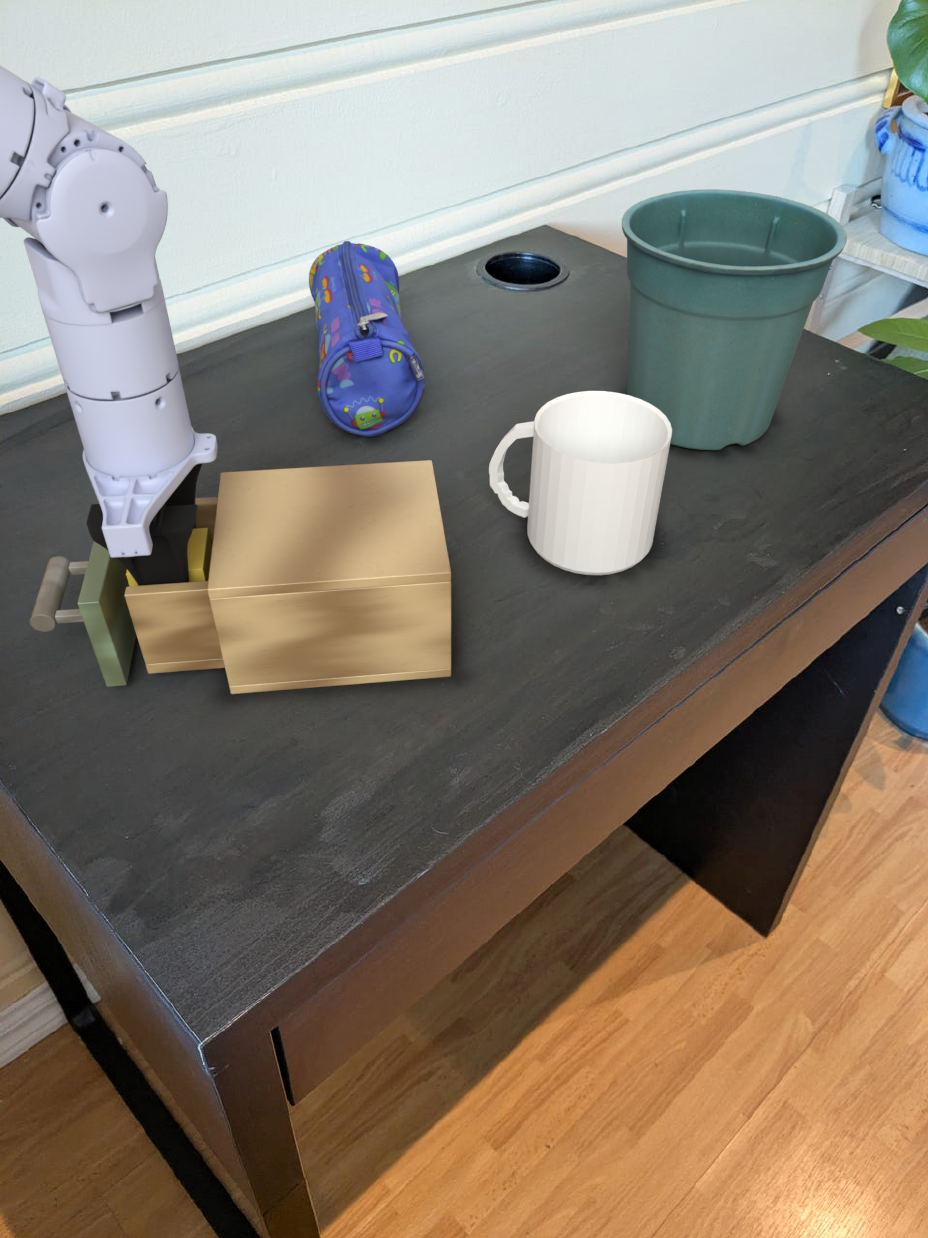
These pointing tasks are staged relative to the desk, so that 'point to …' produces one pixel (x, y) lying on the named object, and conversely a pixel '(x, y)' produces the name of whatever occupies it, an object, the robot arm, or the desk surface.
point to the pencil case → (363, 341)
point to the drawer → (134, 613)
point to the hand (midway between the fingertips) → (173, 575)
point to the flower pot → (721, 306)
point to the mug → (590, 480)
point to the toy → (194, 557)
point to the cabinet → (330, 576)
